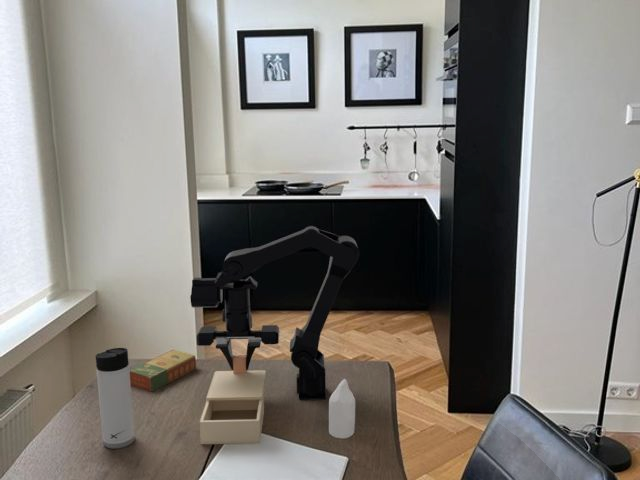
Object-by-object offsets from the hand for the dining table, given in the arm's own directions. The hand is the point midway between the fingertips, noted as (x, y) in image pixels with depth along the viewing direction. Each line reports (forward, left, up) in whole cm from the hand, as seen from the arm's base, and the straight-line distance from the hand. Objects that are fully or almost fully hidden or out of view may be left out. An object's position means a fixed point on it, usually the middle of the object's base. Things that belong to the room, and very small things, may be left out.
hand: (240, 369), depth 148 cm
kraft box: (0, +15, -7) cm, 16 cm away
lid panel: (0, +6, -1) cm, 6 cm away
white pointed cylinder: (-23, +18, -7) cm, 30 cm away
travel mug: (+23, +20, -7) cm, 31 cm away
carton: (+21, -12, -7) cm, 25 cm away
